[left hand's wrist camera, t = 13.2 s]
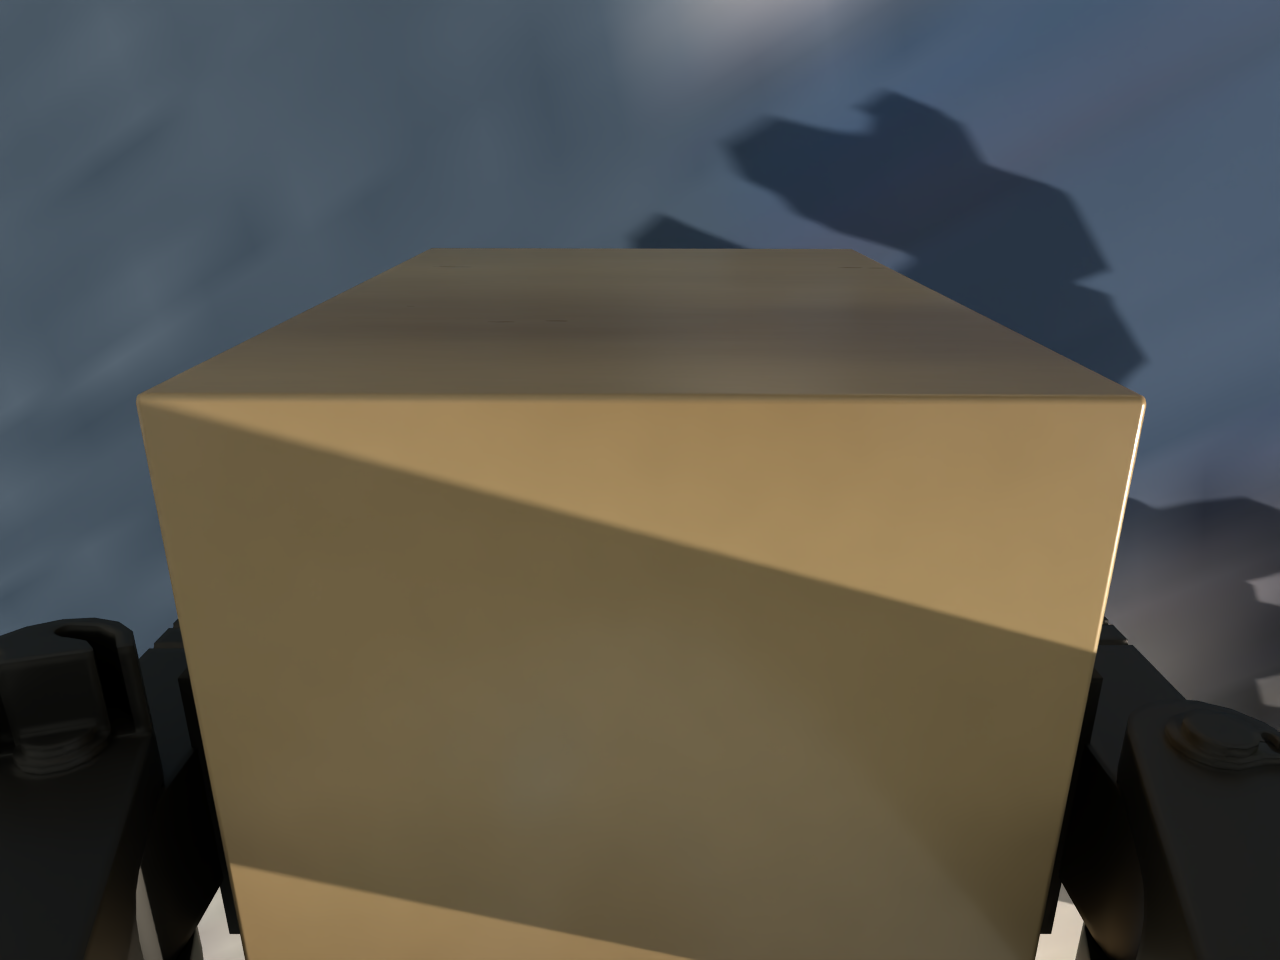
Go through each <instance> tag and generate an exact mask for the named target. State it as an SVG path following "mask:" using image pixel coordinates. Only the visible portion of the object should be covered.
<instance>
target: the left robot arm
mask: <svg viewBox="0 0 1280 960" xmlns="http://www.w3.org/2000/svg"><path fill="white" fill-rule="evenodd" d="M173 625H174V626H173V628H169V629H168V630H167V631H166V632H165V633H164V634H163V635H162V636H161V637H160V638H159V639H158V640H157V641H156V642H155V643H154V649H148V650H147V651H146V652H145V653H144V654H143V655H142V656H141V657H140V658H138V653H137V649H136V644H135V640H134V635H133V631H131V630H130V629H129V628H127V627H126V626H124V625H123V624H121V623H120V622H117V621H111V620H105V619H99V618H79V619H62V620H57V621H52V622H47V623H42V624H37V625H32V626H27V627H24V628H21V629H19V630H16V631H13V632H10V633H7V634H4V635H1V636H0V960H203V952H202V945H201V941H200V936H199V932H198V927H197V925H198V924H199V922H200V920H201V918H202V917H203V915H204V913H205V911H206V910H207V908H208V906H209V904H210V902H211V901H212V899H213V897H214V895H215V894H216V892H217V890H218V888H219V887H220V889H221V894H222V899H223V904H224V908H225V913H226V918H227V923H228V928H229V933H230V934H240V930H239V925H238V920H237V915H236V910H235V905H234V900H233V895H232V890H231V885H230V879H229V874H228V869H227V864H226V859H225V854H224V849H223V844H222V839H221V834H220V828H219V823H218V818H217V813H216V808H215V803H214V798H213V793H212V788H211V783H210V777H209V772H208V767H207V762H206V757H205V752H204V747H203V742H202V737H201V732H200V726H199V721H198V716H197V711H196V706H195V701H194V696H193V691H192V686H191V681H190V675H189V670H188V665H187V660H186V655H185V650H184V645H183V640H182V635H181V630H180V624H179V619H177V620H176V621H175V622H174V623H173ZM1127 641H1128V640H1127V639H1126V638H1125V637H1124V636H1123V635H1122V634H1121V633H1120V632H1119V631H1118V630H1117V629H1116V628H1115V627H1114V626H1113V625H1108V619H1107V618H1106V617H1105V616H1104V618H1103V623H1102V628H1101V633H1100V638H1099V643H1098V648H1097V653H1096V658H1095V663H1094V668H1093V673H1092V678H1091V683H1090V687H1089V692H1088V697H1087V702H1086V707H1085V712H1084V717H1083V722H1082V727H1081V732H1080V737H1079V742H1078V747H1077V752H1076V757H1075V762H1074V767H1073V772H1072V777H1071V782H1070V787H1069V792H1068V797H1067V802H1066V807H1065V812H1064V817H1063V822H1062V827H1061V832H1060V837H1059V842H1058V847H1057V852H1056V857H1055V862H1054V867H1053V872H1052V877H1051V882H1050V887H1049V892H1048V897H1047V902H1046V907H1045V912H1044V917H1043V922H1042V927H1041V932H1040V934H1051V932H1052V927H1053V922H1054V917H1055V912H1056V907H1057V902H1058V897H1059V893H1060V888H1061V883H1062V884H1063V886H1064V887H1065V889H1066V891H1067V893H1068V894H1069V896H1070V898H1071V900H1072V901H1073V903H1074V905H1075V907H1076V908H1077V910H1078V912H1079V914H1080V915H1081V917H1082V919H1083V921H1084V923H1083V927H1082V932H1081V936H1080V941H1079V945H1078V950H1077V954H1076V959H1075V960H1280V732H1278V731H1277V730H1275V729H1273V728H1272V727H1270V726H1269V725H1267V724H1266V723H1264V722H1261V721H1259V720H1257V719H1254V718H1252V717H1249V716H1247V715H1244V714H1242V713H1240V712H1237V711H1235V710H1232V709H1229V708H1225V707H1221V706H1216V705H1212V704H1208V703H1204V702H1200V701H1191V700H1186V699H1185V698H1184V697H1183V696H1182V695H1181V694H1180V693H1179V692H1178V691H1177V690H1176V689H1175V688H1174V687H1173V686H1172V685H1171V684H1170V683H1169V682H1168V681H1167V680H1166V679H1165V678H1164V677H1163V676H1162V675H1161V674H1160V673H1159V672H1158V671H1157V670H1156V669H1155V667H1154V666H1153V665H1152V664H1151V663H1150V662H1149V661H1148V660H1147V659H1146V658H1145V657H1144V656H1143V655H1142V654H1141V653H1140V652H1139V651H1138V650H1137V649H1136V648H1135V647H1134V646H1133V645H1128V643H1127Z"/></svg>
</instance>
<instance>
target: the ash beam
mask: <svg viewBox="0 0 1280 960" xmlns="http://www.w3.org/2000/svg"><path fill="white" fill-rule="evenodd" d="M136 405H137V410H138V415H139V421H140V426H141V431H142V436H143V441H144V446H145V451H146V456H147V461H148V466H149V472H150V477H151V482H152V487H153V492H154V497H155V502H156V507H157V512H158V517H159V523H160V528H161V533H162V538H163V543H164V548H165V553H166V558H167V563H168V568H169V574H170V579H171V584H172V589H173V594H174V599H175V604H176V609H177V614H178V619H179V624H180V630H181V635H182V640H183V645H184V650H185V655H186V660H187V665H188V670H189V675H190V681H191V686H192V691H193V696H194V701H195V706H196V711H197V716H198V721H199V726H200V732H201V737H202V742H203V747H204V752H205V757H206V762H207V767H208V772H209V777H210V783H211V788H212V793H213V798H214V803H215V808H216V813H217V818H218V823H219V828H220V834H221V839H222V844H223V849H224V854H225V859H226V864H227V869H228V874H229V879H230V885H231V890H232V895H233V900H234V905H235V910H236V915H237V920H238V925H239V930H240V936H241V941H242V946H243V951H244V956H245V960H1035V957H1036V952H1037V947H1038V942H1039V937H1040V932H1041V927H1042V922H1043V917H1044V912H1045V907H1046V902H1047V897H1048V892H1049V887H1050V882H1051V877H1052V872H1053V867H1054V862H1055V857H1056V852H1057V847H1058V842H1059V837H1060V832H1061V827H1062V822H1063V817H1064V812H1065V807H1066V802H1067V797H1068V792H1069V787H1070V782H1071V777H1072V772H1073V767H1074V762H1075V757H1076V752H1077V747H1078V742H1079V737H1080V732H1081V727H1082V722H1083V717H1084V712H1085V707H1086V702H1087V697H1088V692H1089V687H1090V683H1091V678H1092V673H1093V668H1094V663H1095V658H1096V653H1097V648H1098V643H1099V638H1100V633H1101V628H1102V623H1103V618H1104V613H1105V608H1106V603H1107V598H1108V593H1109V588H1110V583H1111V578H1112V573H1113V568H1114V563H1115V558H1116V553H1117V548H1118V543H1119V538H1120V533H1121V528H1122V523H1123V518H1124V513H1125V508H1126V503H1127V498H1128V493H1129V488H1130V483H1131V478H1132V473H1133V468H1134V463H1135V458H1136V453H1137V448H1138V443H1139V438H1140V433H1141V428H1142V423H1143V418H1144V413H1145V409H1146V400H1145V398H1144V397H1143V396H1141V395H1140V394H1138V393H1136V392H1134V391H1132V390H1130V389H1128V388H1126V387H1124V386H1122V385H1120V384H1118V383H1116V382H1114V381H1112V380H1110V379H1108V378H1106V377H1104V376H1102V375H1100V374H1098V373H1096V372H1094V371H1092V370H1090V369H1088V368H1086V367H1084V366H1082V365H1080V364H1078V363H1076V362H1074V361H1072V360H1070V359H1068V358H1066V357H1064V356H1062V355H1060V354H1058V353H1056V352H1054V351H1052V350H1050V349H1048V348H1046V347H1044V346H1042V345H1040V344H1038V343H1036V342H1035V341H1033V340H1031V339H1029V338H1027V337H1025V336H1023V335H1021V334H1019V333H1017V332H1015V331H1013V330H1011V329H1009V328H1007V327H1005V326H1003V325H1001V324H999V323H997V322H995V321H993V320H991V319H989V318H987V317H985V316H983V315H981V314H979V313H977V312H975V311H973V310H971V309H969V308H967V307H965V306H963V305H961V304H959V303H957V302H955V301H953V300H951V299H949V298H947V297H945V296H943V295H941V294H939V293H937V292H935V291H933V290H931V289H930V288H928V287H926V286H924V285H922V284H920V283H918V282H916V281H914V280H912V279H910V278H908V277H906V276H904V275H902V274H900V273H898V272H896V271H894V270H892V269H890V268H888V267H886V266H884V265H882V264H880V263H878V262H876V261H874V260H872V259H870V258H868V257H866V256H864V255H862V254H860V253H858V252H856V251H854V250H852V249H538V248H431V249H429V250H427V251H425V252H423V253H421V254H419V255H417V256H415V257H413V258H411V259H409V260H407V261H405V262H403V263H401V264H399V265H397V266H395V267H393V268H391V269H389V270H387V271H385V272H383V273H381V274H379V275H377V276H375V277H373V278H371V279H369V280H367V281H365V282H363V283H361V284H359V285H357V286H355V287H353V288H351V289H349V290H347V291H345V292H343V293H341V294H339V295H337V296H335V297H333V298H331V299H329V300H327V301H325V302H323V303H321V304H319V305H317V306H315V307H313V308H311V309H309V310H307V311H305V312H303V313H301V314H299V315H297V316H295V317H293V318H291V319H289V320H287V321H285V322H283V323H281V324H279V325H277V326H275V327H273V328H271V329H269V330H267V331H265V332H263V333H261V334H259V335H257V336H255V337H253V338H251V339H249V340H247V341H245V342H243V343H241V344H239V345H237V346H235V347H233V348H231V349H229V350H227V351H225V352H223V353H221V354H219V355H217V356H215V357H213V358H211V359H209V360H207V361H205V362H203V363H201V364H199V365H197V366H195V367H193V368H191V369H189V370H187V371H185V372H183V373H181V374H179V375H177V376H175V377H173V378H171V379H168V380H166V381H164V382H162V383H160V384H158V385H156V386H154V387H152V388H150V389H148V390H146V391H144V392H142V393H140V394H138V396H137V400H136Z"/></svg>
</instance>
